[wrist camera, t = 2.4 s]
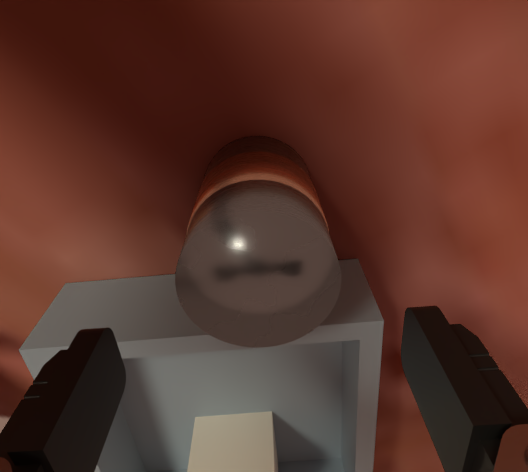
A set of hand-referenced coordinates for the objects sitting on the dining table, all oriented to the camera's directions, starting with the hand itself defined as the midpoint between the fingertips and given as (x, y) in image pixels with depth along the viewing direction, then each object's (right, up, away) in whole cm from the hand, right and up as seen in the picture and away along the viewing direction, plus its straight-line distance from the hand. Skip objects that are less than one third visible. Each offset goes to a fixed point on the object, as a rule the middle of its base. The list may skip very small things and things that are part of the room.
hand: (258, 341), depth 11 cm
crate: (-2, -6, +15) cm, 16 cm away
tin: (0, +5, +9) cm, 10 cm away
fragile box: (-2, -11, +16) cm, 19 cm away
